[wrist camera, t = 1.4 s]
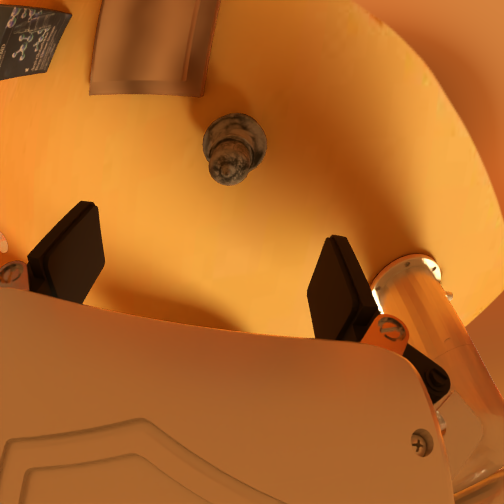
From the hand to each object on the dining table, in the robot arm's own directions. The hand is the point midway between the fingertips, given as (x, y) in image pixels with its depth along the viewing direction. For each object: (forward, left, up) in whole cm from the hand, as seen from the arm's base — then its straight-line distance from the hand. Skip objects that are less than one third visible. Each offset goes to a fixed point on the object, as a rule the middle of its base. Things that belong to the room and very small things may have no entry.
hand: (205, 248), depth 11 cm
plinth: (+10, -10, -20) cm, 25 cm away
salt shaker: (0, 0, -20) cm, 20 cm away
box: (+25, -12, -20) cm, 34 cm away
